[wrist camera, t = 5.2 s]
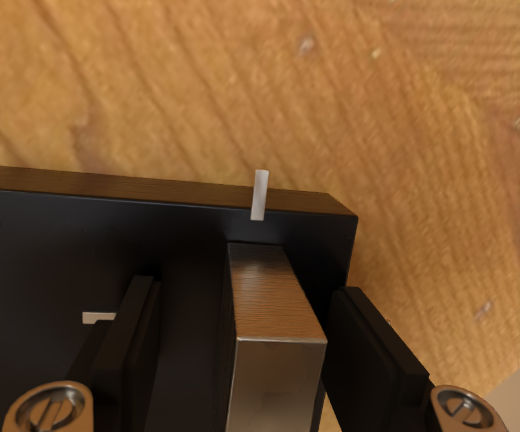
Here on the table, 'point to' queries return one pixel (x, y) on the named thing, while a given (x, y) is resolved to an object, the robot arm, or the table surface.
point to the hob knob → (265, 345)
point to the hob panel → (147, 271)
